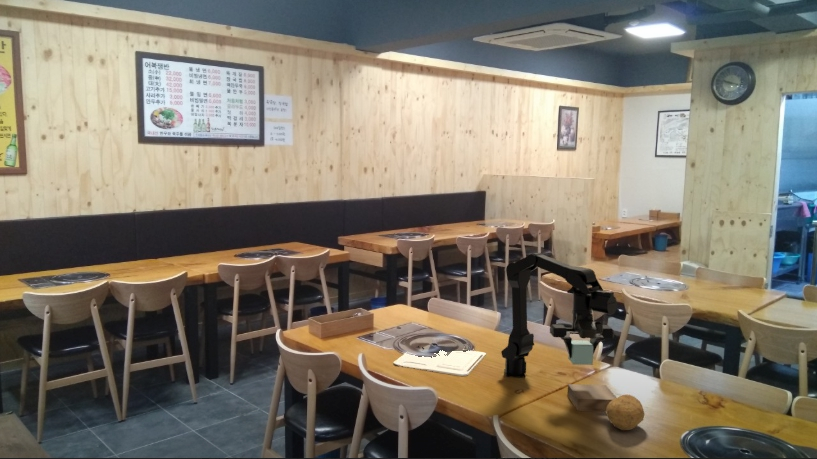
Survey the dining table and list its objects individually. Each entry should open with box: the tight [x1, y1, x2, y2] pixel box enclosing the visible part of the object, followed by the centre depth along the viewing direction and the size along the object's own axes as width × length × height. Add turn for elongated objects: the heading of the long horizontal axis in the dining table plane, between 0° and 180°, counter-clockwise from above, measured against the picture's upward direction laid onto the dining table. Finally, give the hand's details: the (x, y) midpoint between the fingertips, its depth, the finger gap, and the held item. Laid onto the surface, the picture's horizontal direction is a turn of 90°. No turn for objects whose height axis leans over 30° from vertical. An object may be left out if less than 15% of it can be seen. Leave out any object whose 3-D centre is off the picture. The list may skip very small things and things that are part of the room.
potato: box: [605, 394, 646, 431], centre depth 166 cm, size 10×14×8 cm
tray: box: [392, 349, 487, 377], centre depth 222 cm, size 28×28×2 cm
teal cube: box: [567, 339, 594, 366], centre depth 187 cm, size 6×6×6 cm
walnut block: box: [567, 383, 617, 412], centre depth 183 cm, size 12×12×4 cm
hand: (580, 357), depth 187 cm, fingers closed on teal cube, 6 cm apart
